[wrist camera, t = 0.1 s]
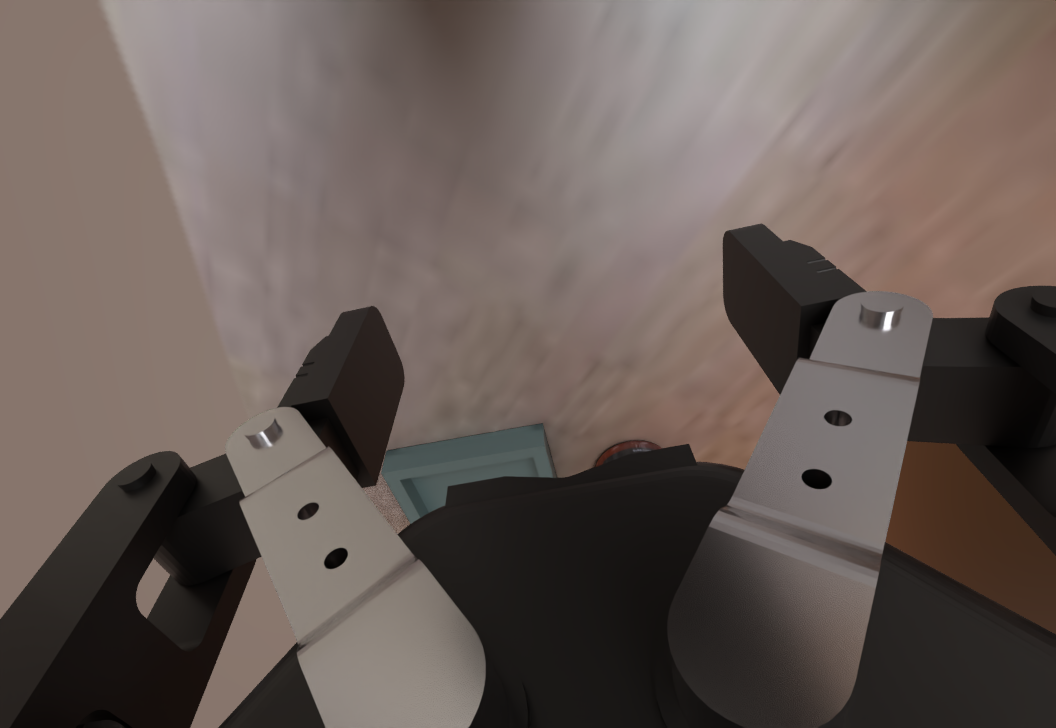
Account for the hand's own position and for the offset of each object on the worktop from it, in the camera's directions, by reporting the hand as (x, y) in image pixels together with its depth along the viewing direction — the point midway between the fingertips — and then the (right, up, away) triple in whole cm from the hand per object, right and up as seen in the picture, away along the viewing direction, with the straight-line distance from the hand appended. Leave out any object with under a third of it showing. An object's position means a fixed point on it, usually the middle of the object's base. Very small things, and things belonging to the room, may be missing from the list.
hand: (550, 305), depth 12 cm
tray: (-4, -11, +31) cm, 33 cm away
